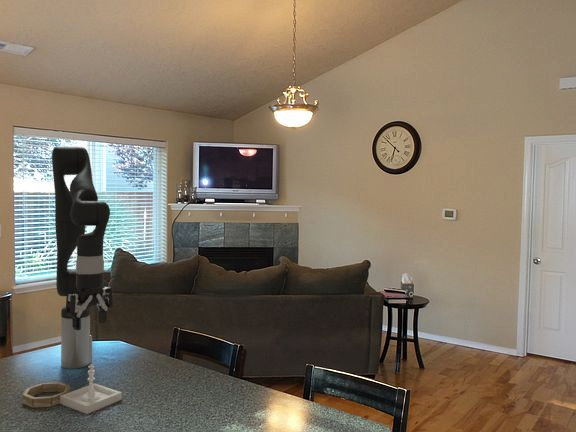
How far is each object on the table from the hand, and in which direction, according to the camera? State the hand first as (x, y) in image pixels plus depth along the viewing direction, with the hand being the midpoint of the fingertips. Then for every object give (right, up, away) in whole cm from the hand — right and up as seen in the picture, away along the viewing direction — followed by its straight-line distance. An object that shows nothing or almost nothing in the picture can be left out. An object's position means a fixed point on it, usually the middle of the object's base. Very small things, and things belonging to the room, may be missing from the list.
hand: (89, 326), depth 154 cm
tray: (0, -22, +1) cm, 22 cm away
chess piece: (0, -21, +1) cm, 21 cm away
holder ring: (-13, -22, +2) cm, 26 cm away
